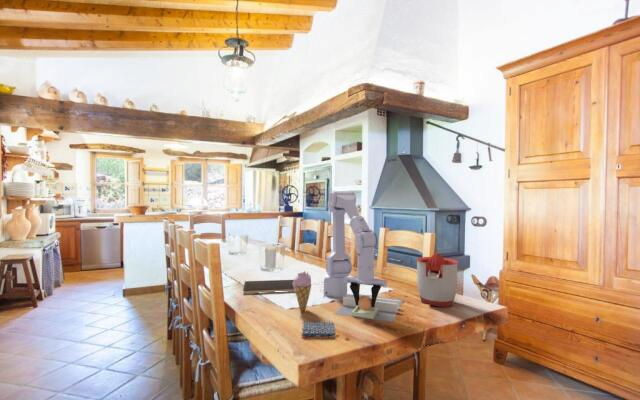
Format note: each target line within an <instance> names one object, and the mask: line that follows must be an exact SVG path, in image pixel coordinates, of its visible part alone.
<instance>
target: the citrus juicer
mask: <svg viewBox="0 0 640 400" xmlns="http://www.w3.org/2000/svg"><path fill="white" fill-rule="evenodd" d="M458 264H459V261H458V260H456V259H453V258H448V257H443V256H442V255H441V253H439V252H435V253H434V254H432V255H431V256H421V257H418V258H416V284H417V285H416V286H417V291H418V296H419V298H420V301H421V302H422V303H424V304H425V305H429V306H432V307H433V306H434V307H442V308H447V307H449V306H452V305H453V303H454V301H455V298H456V295H457V290H458Z"/></svg>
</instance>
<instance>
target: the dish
mask: <svg viewBox="0 0 640 400" xmlns="http://www.w3.org/2000/svg"><path fill="white" fill-rule="evenodd" d="M377 313H378V308H373V307H371V309H369V310H367V311H364V310H362V309H361V308H360V307H359V305H358V306H357V307H356V308H355V309H354V310H353V311H352V316H351V317H353V316H356V317H355V318H359V317H362V319H366V318H369V319H368V320H372V319H374V317H375V316H376V315H377Z"/></svg>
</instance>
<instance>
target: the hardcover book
mask: <svg viewBox="0 0 640 400" xmlns="http://www.w3.org/2000/svg"><path fill="white" fill-rule="evenodd" d="M293 281H294V279H276V280H275V279H272V280H245V281H244V284H243V289H242V291H243V295H255V293H259V292H275V291H295V290H294V287H293V284H292V283H293ZM259 294H260V293H259Z"/></svg>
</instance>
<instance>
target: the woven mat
mask: <svg viewBox="0 0 640 400" xmlns="http://www.w3.org/2000/svg"><path fill="white" fill-rule="evenodd" d="M301 330H302V332H301V333H300V334H301V336H300V338H302V339H336V338H337V336H336V327H335V322H333V321H331V320H328V321H325V320H324V321H320V320H319V321H316V320H313V321H310V320H309V321H306V320H304V321H303V322H302V328H301ZM302 334H303V335H302ZM303 337H305V338H303Z"/></svg>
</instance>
